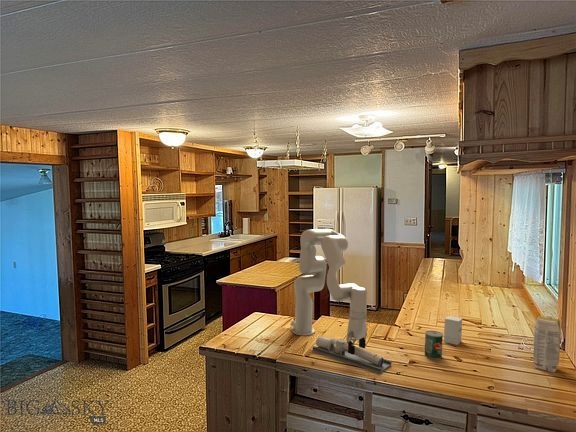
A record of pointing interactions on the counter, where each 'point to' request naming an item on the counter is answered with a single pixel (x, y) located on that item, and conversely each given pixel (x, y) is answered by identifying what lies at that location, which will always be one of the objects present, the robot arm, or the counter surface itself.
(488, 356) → the counter surface
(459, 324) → the supplement box
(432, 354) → the canned tomato
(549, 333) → the juice carton
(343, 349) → the white electric toothbrush
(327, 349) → the pipe jig board
